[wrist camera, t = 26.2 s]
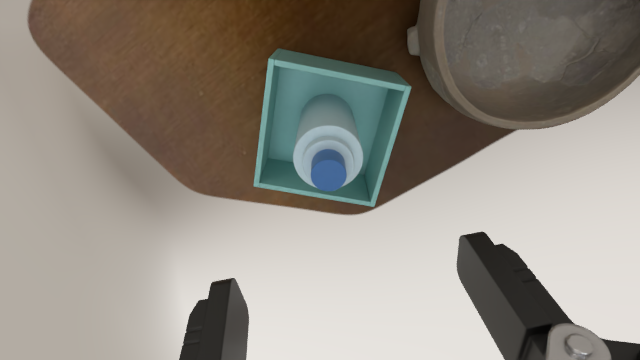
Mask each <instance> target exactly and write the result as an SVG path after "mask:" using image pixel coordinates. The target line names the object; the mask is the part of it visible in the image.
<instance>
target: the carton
mask: <svg viewBox="0 0 640 360" xmlns="http://www.w3.org/2000/svg"><path fill="white" fill-rule="evenodd" d="M410 90H411V86H410V85H409V84H408V83H407V82H406V81H405V80H404V79H403V78H402V77H401V76H400V75H399V74H398V73H397V72H392V71H387V70H382V69H377V68H372V67H367V66H362V65H357V64H353V63H348V62H343V61H338V60H333V59H328V58H323V57H318V56H313V55H308V54H303V53H298V52H294V51H289V50H284V49H279V48H278V49H277V50H276V51H275V52H274V53H273V54H272V55H271V56H270V57H269V59H268V67H267V75H266V84H265V92H264V101H263V109H262V118H261V126H260V135H259V143H258V152H257V160H256V169H255V177H254V187H260V188H266V189H272V190H278V191H283V192H289V193H295V194H301V195H307V196H313V197H319V198H325V199H331V200H336V201H342V202H348V203H354V204H360V205H366V206H372V207H374V206H375V202H376V199H377V196H378V193H379V190H380V186H381V183H382V180H383V177H384V173H385V170H386V167H387V164H388V161H389V157H390V154H391V151H392V148H393V145H394V141H395V138H396V135H397V132H398V128H399V125H400V122H401V119H402V116H403V112H404V109H405V106H406V103H407V99H408V96H409V93H410ZM322 94H332V95H336V96H338V97H340V98H342V99H343V100H345V101H346V102H347V103H348V105H349V106H350V108H351V110H352V113H353V116H354V120H355V124H356V128H357V131H358V135H359V139H360V143H361V147H362V151H363V163H362V167H361V169H360V171H359V173H358V175H357V176H356V177H355V178H354V179H353V180H352V181H351V182H350V183H348V184H346V185H345V186H342V187H340V188H339V189H337V190H335V191H322V190H320V189H318V188H316V187H313V186H311V185H309V184H308V183H306V182H305V181H304V180H303V179H302V178H301V177H300V176H299V175H298V173H297V171H296V169H295V167H294V163H293V152H294V147H295V142H296V136H297V131H298V126H299V121H300V116H301V112H302V110H303V108H304V106H305V105H306V103H307V102H308V101H309V100H311V99H312V98H314V97H316V96H318V95H322Z"/></svg>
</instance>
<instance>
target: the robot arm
mask: <svg viewBox="0 0 640 360" xmlns="http://www.w3.org/2000/svg"><path fill="white" fill-rule="evenodd" d="M457 271H458V275H459V278H460V280H461V283H462V284H463V286H464V288H465V290H466V291H467V293H468V295H469V297H470V299H471V300H472V302H473V304H474V306H475V307H476V309H477V311H478V313H479V315H480V316H481V318H482V320H483V322H484V323H485V325H486V327H487V329H488V331H489V332H490V334H491V336H492V338H493V339H494V341H495V343H496V345H497V347H498V348H499V350H500V352H501V354H502V355H503V357H504V359H505V360H640V344H636V343H627V342H619V341H611V340H605V339H601V338H599V337H598V336H597V335H595V334H594V333H593V332H591V331H590V330H588V329H586V328H584V327H581V326H579V325H575V324H574V323H573V322H572V321H571V320H570V319H569V318H568V316H567V315H566V314H565V313H564V312H563V311H562V309H561V308H560V306H559V305H558V304H557V303H556V301H555V300H554V299H553V298H552V296H551V295H550V294H549V293H548V291H547V290H546V289H545V288H544V286H543V285H542V284H541V283H540V282H539V280H538V279H536V276H535V275H534V274H533V273H532V271H531V270H530V269H528V268H527V265H526V264H525V263H524V262H523V260H522V259H521V258H520V257H519V255H518V254H517V253H516V252H514V251H513V250H511V249H510V248H508V247H507V246H505V245H504V244H499V245H494V244H493V242H492V241H491V240H490V238H489V237H488V236H487V234H486V233H484V232H478V233H473V234H467V235H462V236H461V237H460V239H459V248H458V257H457ZM248 325H249V315H248V308H247V304H246V302H245V300H244V298H243V295H242V293H241V291H240V288H239V286H238V284H237V282H236V280H235V279H234V278H231V279H226V280H221V281H216V282H212V284H211V287H210V291H209V296H208V299H205V300H199V301H198V303H197V304H196V306H195V307H194V309H193V311H192V312H191V314H190V316H189V320H188V324H187V329H186V333H185V337H184V342H183V343H184V345H183V346H182V350H181V354H180V359H179V360H246V353H247V339H248Z"/></svg>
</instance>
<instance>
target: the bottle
mask: <svg viewBox="0 0 640 360" xmlns="http://www.w3.org/2000/svg"><path fill="white" fill-rule="evenodd" d="M293 163H294V167H295V169H296V171H297V173H298V175H299V176H300V177H301V178H302V179H303V180H304V181H305V182H306V183H308V184H309V185H311V186H313V187H316V188H318V189H320V190H322V191H335V190H337V189H339V188H340V187H342V186H345V185H346V184H348V183H350V182H351V181H352V180H353V179H354V178H355V177H356V176H357V175H358V173H359V171H360V169H361V167H362V163H363V151H362V147H361V143H360V139H359V135H358V131H357V128H356V124H355V120H354V116H353V113H352V110H351V108H350V106H349V105H348V103H347V102H346V101H345V100H343V99H342V98H340V97H338V96H336V95H332V94H322V95H318V96H316V97H314V98H312V99H311V100H309V101H308V102H307V103H306V105H305V106H304V108H303V110H302V112H301V116H300V121H299V126H298V131H297V136H296V142H295V147H294V152H293Z"/></svg>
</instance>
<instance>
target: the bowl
mask: <svg viewBox="0 0 640 360" xmlns="http://www.w3.org/2000/svg"><path fill="white" fill-rule="evenodd" d="M407 36H408V38H407V46H408V50H409V53H410V54H411V55H418V56H420V59H421V62H422V66H423V69H424V71H425V74H426V76H427V79H428V81H429V82H430V84H431V86H432V88H433V89H434V90H435V91H436V92H437V93H438V94H439V95H440V96H441V97H442V98H443V99H444V100H445V101H446V102H448V103H449V104H450V105H451V106H452V107H453V108H455V109H456V110H457V111H459V112H460V113H462V114H464V115H466V116H468V117H470V118H472V119H474V120H477V121H479V122H482V123H485V124H487V125H491V126H496V127H501V128H506V129H542V128H549V127H554V126H557V125H561V124H564V123H568V122H570V121H573V120H576V119H578V118H580V117H582V116H585V115H587V114H589V113H591V112H592V111H594V110H596V109H597V108H599V107H601V106H603V105H604V104H606V103H607V102H608V101H610V100H611V99H613V98H614V97H615V96H617V95H618V94H619V93H620V92H622V91H623V90H624V89H625V88H626V87H627V86H629V85H630V84H631V83H632V82H633V81H634V80H635V79H636V78H637V77H638V76H639V75H640V0H420V9H419V15H418V20H417V24H416V25H415V26H413V27H411V28H408V30H407Z"/></svg>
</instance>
